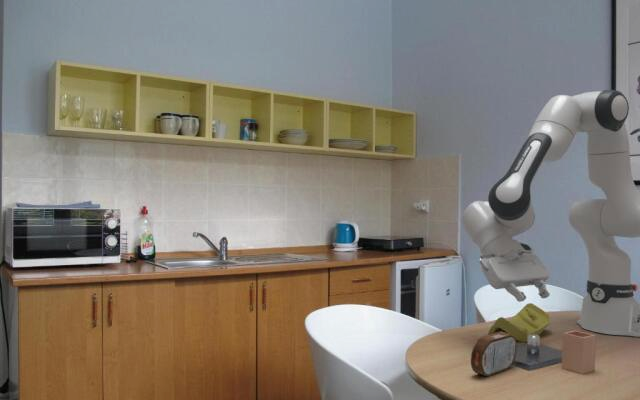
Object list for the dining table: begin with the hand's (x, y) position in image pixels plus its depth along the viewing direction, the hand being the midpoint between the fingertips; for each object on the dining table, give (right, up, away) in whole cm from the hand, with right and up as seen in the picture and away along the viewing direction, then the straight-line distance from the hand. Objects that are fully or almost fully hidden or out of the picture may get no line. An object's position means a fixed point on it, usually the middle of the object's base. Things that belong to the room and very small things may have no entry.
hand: (534, 298), depth 134 cm
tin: (-14, -14, -13) cm, 24 cm away
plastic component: (+5, -14, +22) cm, 26 cm away
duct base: (-2, -14, -1) cm, 14 cm away
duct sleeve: (+6, -14, -9) cm, 18 cm away
